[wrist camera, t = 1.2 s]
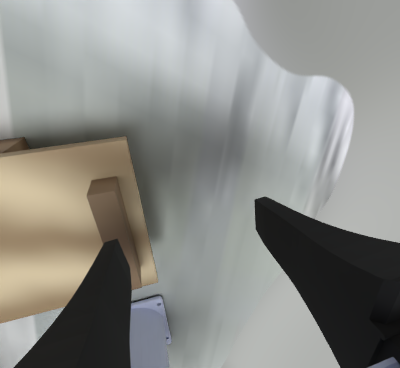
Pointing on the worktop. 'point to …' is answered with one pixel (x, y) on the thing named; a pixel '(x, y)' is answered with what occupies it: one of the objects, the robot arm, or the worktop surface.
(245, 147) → the worktop surface
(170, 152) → the worktop surface
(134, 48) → the worktop surface
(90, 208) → the lid
